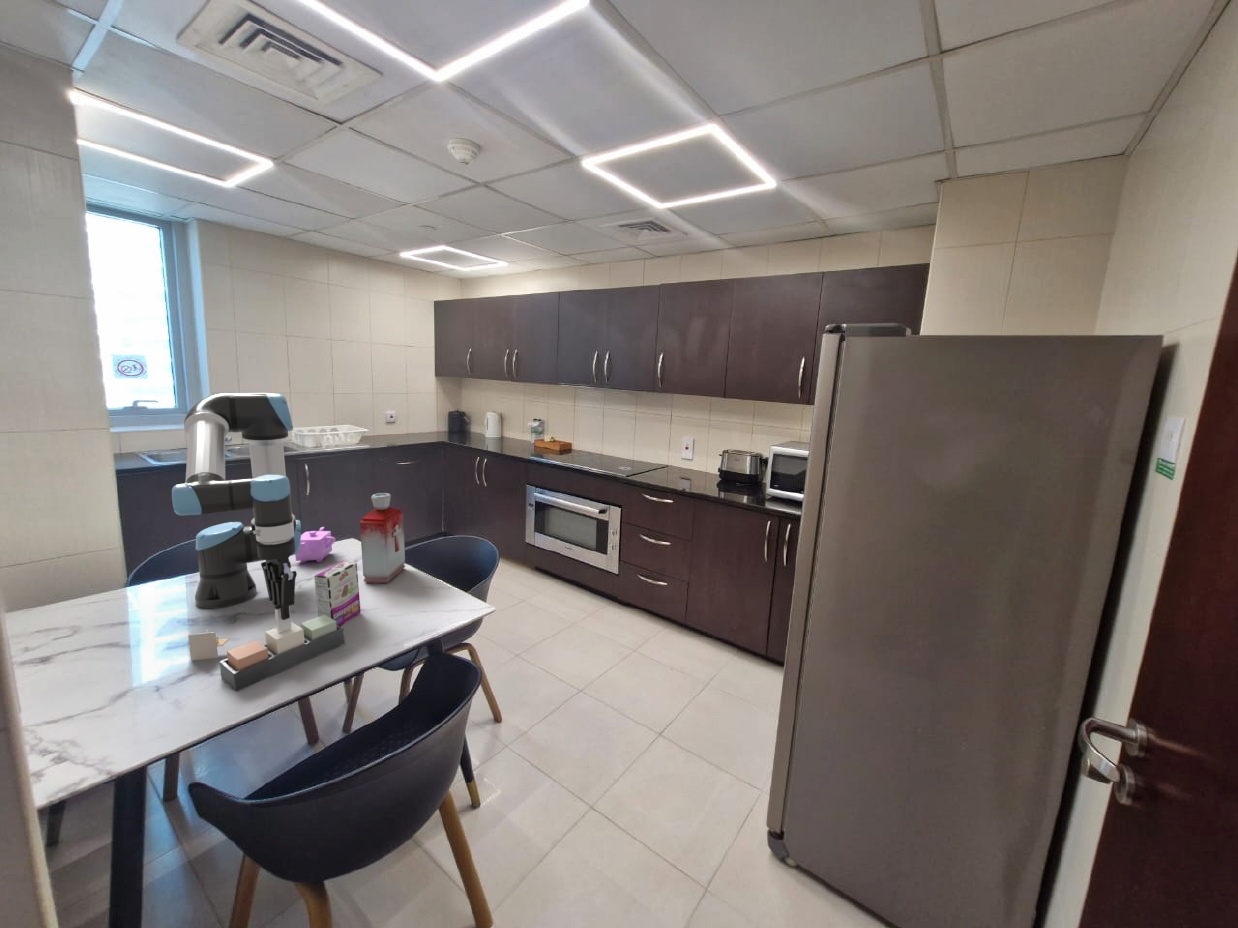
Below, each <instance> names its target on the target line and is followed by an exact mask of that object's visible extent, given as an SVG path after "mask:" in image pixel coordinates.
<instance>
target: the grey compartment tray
mask: <svg viewBox="0 0 1238 928" xmlns="http://www.w3.org/2000/svg"><path fill="white" fill-rule="evenodd" d="M336 626H337V630H336V631H334V632H331V633H329V634H326V635H324V636H322V637H319V638H317V639H314V640H312V641H310V640H309V639H307V638H305V637H304V644H302V645H300V646H297V647H295V648H292V649H290V650H287V651H285V652H282V653H280V654H278V655H274V654H273V653H271V652H270V651H269V650H268V657H269V658H268V659H265V660H263V661H261V662H258V663H256V664H253V665H251V666H248V667H246V668H243V669H241V670H239V671H235V670H233V669H232V668H231V667H230V666H229V665H228V657H227V658H225V659H222V660H220V661H219V669H220V677H221V678H220V679H221V680H222V681H223V682H225V683H226V684H227V685H228V686H229V687H230V688H231V689H232V690H234V691H235V692H238V691H240V690H241V691H242V690H243V689H245V688H248V687H249V686H252V685H254V684H256V683H259V682H261V681H264V680H266V679H268V678H270V677H273V676H274V675H276V674H279V673H280V674H281V672H285V671H287V670H288V669H291V668H293V667H295V666H298V665H299V664H302V663H304V662H307V661H309V660H312V659H314V658H316V657H319V656H321V655H322V654H325V653H327V652H329V651H331V650H334V649H336V648H338V647H341V646H343V645H345V643H346V642H345V630H344V628H343V627H342V626H338V625H336ZM263 645H264V646H265V647H267V644H266V643H264V644H263Z"/></svg>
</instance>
